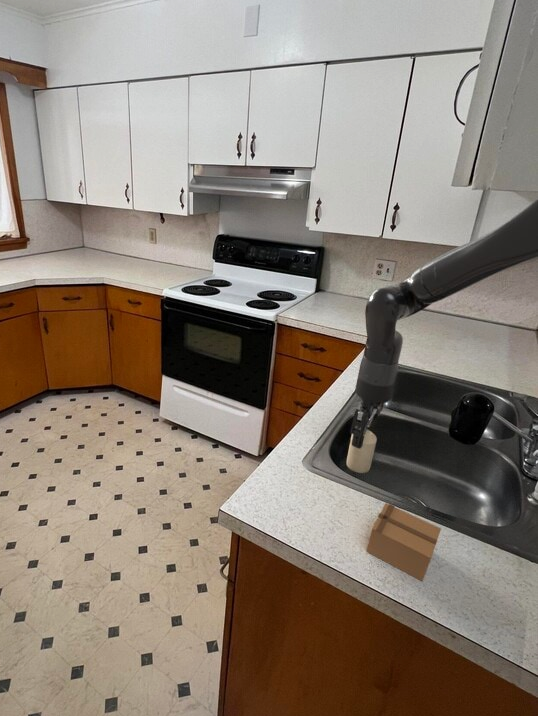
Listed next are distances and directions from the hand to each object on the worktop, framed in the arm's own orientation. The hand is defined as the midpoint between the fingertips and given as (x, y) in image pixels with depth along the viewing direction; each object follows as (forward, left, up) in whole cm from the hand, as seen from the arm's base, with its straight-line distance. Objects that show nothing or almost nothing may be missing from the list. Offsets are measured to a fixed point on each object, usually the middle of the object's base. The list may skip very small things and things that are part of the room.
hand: (363, 437), depth 98 cm
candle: (0, 0, -8) cm, 8 cm away
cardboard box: (-15, +19, -8) cm, 26 cm away
